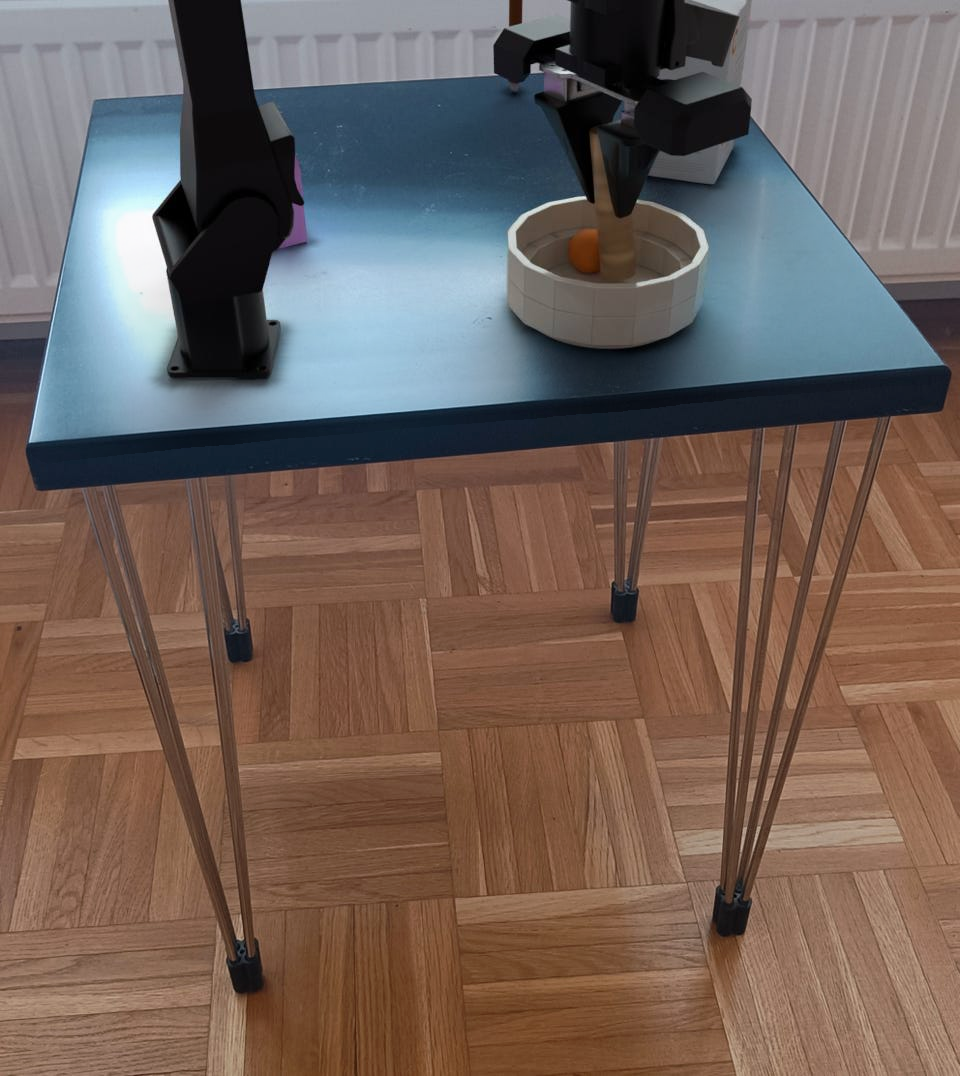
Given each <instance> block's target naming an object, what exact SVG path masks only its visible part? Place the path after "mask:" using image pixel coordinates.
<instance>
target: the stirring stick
mask: <svg viewBox="0 0 960 1076" xmlns="http://www.w3.org/2000/svg"><path fill="white" fill-rule="evenodd" d="M602 125H604V124H602ZM598 126H601V125H598ZM598 126H595V127H593V128H591V129H590V131H589V136H590V148H591V161H592V173H593V185H594V198H595V210H596V222H597V235H598V247H599V259H600V272H601V277H602V278H603V279H605V280H609V281H621V280H626V279H629V278H631V277H633V276H634V275H635V273H636V268H635V253H634V237H633V222H632V213H631V214H630V215H629V216H626V217H624V218H618V217H616V216H615V213H614V209H613V206H612V202H611V198H610V193H609V188H608V183H607V178H606V173H605V168H604V162H603V157H602V153H601V148H600V142H599V137H598V132H597V127H598Z"/></svg>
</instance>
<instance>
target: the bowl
mask: <svg viewBox="0 0 960 1076" xmlns="http://www.w3.org/2000/svg"><path fill="white" fill-rule="evenodd" d="M632 222H633V237H634V253H635V268H636V273H635V275H634V276H633V277H631V278H629V279H626V280H621V281H609V280H605V279H603V278H602V277H601V272H600V270H599V271H597V272H593V273H585V272H582V271H580V270H578V269H577V268H575V267H574V266H573V264H572V263H571V261H570V259H569V254H568V248H569V244H570V242H571V240H572V238H573V237H574V236H575V235H576V234H577V233H578V232H580V231H582V230H585V229H595V230H597V222H596V210H595V204H592V203H590V202H588V200H587V198H586V196H585V195H584V196H582V195H581V196H575V197H570V198H563V199H559V200H553V201H548V202H545V203H543V204H541V205H539V206H536V207H534V208H533V209H531V210H528V211H527V212H524V213H521V214H520V216H518V218H516V220H515V221H514V222H513V224H511V226H510V227H509V228H508V229H507V232H506V304H507V306H508V307H509V309H510V310H512V312H513V313H514V314H515V315H516V316H517V318H518V319H520V321H521V322H522V323H523V324H524V325H526V326H527V327H530V328H532V329H534V330H536V331H538V332H539V333H541V334H542V335H544V336H546V337H548V338H550V339H552V340H556V341H558V342H561V343H564V344H568V345H572V346H577V347H582V348H589V349H598V350H599V349H600V350H601V349H604V350H614V349H616V350H617V349H619V350H620V349H628V348H629V349H630V348H634V347H635V348H636V347H641V346H644V345H648V344H652V343H654V342H657V341H660V340H662V339H666V338H669V337H671V336H672V335H674V334H676V333H677V332H679V331H681V330H683V329H684V328H686V327H687V326H689V325H691V324H692V323H693V322H694V320H695V318H696V316H698V315H697V314H698V313H699V311H700V309H701V307H702V305H703V303H704V301H703V300H704V294H705V293H704V292H705V285H706V277H707V271H708V270H707V269H708V262H709V255H710V254H709V253H710V245H709V243H708V239H707V237H706V236H707V235H706V233H705V230H704V229H703V228H702V227H701V226H700V225H699V224H697V223H696V222H694V221H693V220H692V219H691V218H690V217H688V216H687V215H686V214H684V213H682V212H680V211H678V210H675V209H673V208H670V207H667V206H665V205H663V204H659V203H657V202H654V201H649V200H648V201H647V200H643V199H638V200H637V202H636V204H635V207H634V209H633V211H632Z"/></svg>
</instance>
